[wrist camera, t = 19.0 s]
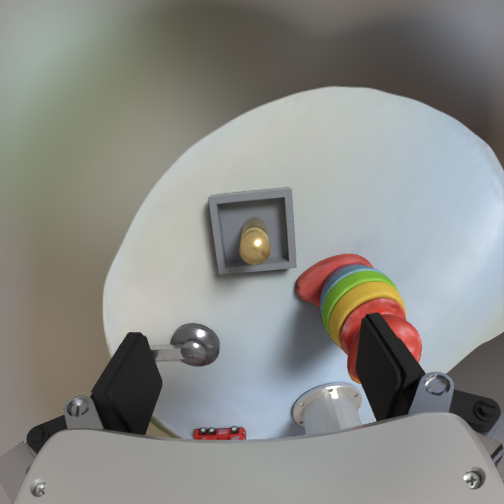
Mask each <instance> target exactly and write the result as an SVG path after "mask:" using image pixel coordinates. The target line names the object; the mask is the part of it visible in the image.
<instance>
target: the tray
mask: <svg viewBox="0 0 504 504" xmlns="http://www.w3.org/2000/svg"><path fill="white" fill-rule="evenodd" d="M208 199H209V207H210V215H211V222H212V229H213V237H214V244H215V251H216V257H217V264H218V271H219V275H223V274H234V273H246V272H257V271H267V270H278V269H288V268H297V267H296V247H295V230H294V215H293V201H292V189H290V188H289V187H286V188H274V189H263V190H252V191H242V192H233V193H224V194H216V195H211V196H210V197H208ZM250 218H259V219H261V220H262V221H263V222H264V223H265V225H266V228H267V233H268V238H269V243H270V247H271V253H270V256H269V258H268V259H267V260H266V261H265V262H264V263H262V264H259V265H251V264H248V263H246V262H245V261H244V260H243V259H242V257H241V255H240V242H241V235H242V228H243V225H244V223H245V222H246V221H247V220H248V219H250Z"/></svg>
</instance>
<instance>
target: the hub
mask: <svg viewBox="0 0 504 504" xmlns="http://www.w3.org/2000/svg"><path fill="white" fill-rule="evenodd" d="M188 339H197V340H199V341H201V342H203V343H204V344H205V346H206V348H207V353H206V357H205V359H204V360H203V361H201V362H198V363H193V362H189V361H187V360H186V359H180V360H181V361H183V362H185V363H187V364H189V365H193V366H205V365H208V364H211V363H212V362H214V361H215V360H216V358H217V357H218V354H219V349H220V342H219V339H218V337H217V335H216V334H215V333H214V332H213V331H212V330H211V329H209V328H208V327H206V326H204V325H201V324H195V323H190V324H185V325H182V326H180V327H179V328H178V329H177V330H176V331H175V333H174V335H173V337H172V340H171V345H177V344H183V343H184V341H186V340H188Z"/></svg>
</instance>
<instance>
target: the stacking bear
mask: <svg viewBox="0 0 504 504" xmlns="http://www.w3.org/2000/svg"><path fill="white" fill-rule="evenodd" d="M296 283H297V286H296V292H297V293H298V294H299V295H300V298H301V299H302V300H304V301H306V302H309V303H312V304H315V305H317V306H318V307H319V308H320V313H321V319H322V322H323V325H324V328H325V330H326V331H327V333H328V335H329V336H330V337H331V339H332V340H333V341H334V342H335V343H336V344H337V345H338V346H339V347H340V348H341V349H342V350H343V351H344V352H345V353H346V354H347V355H348V359H347V368H348V373H349V375H350V377H351V379H352V380H353V381H355V382H357V383H359V384H361V382H360V380H359V377H358V375H357V373H356V368H355V365H356V358H357V351H358V344H359V336H360V327H361V320H362V318H365V315H366V314H370V313H376V312H379V313H380V314H381V315H382V317H383V318H384V319H385V321H386V322H387V323H388V325H389V326H390V328H391V329H392V330H393V332H394V333H395V334H396V336H397V337H398V338H400V339H401V340H402V341H403V342H404V344H405V345H406V346H407V348H408V349H409V351H410V352H411V353H412V355H413V356H414V358H415V359H416V360H417V362H418V363H419V360H420V357H421V352H422V343H421V338H420V335H419V333H418V332H417V330H416V329H415V328H414V327H413V326H412V325H411V324H410V323H409V322H407V321H406V309H405V306H404V303H403V300H402V298H401V296H400V294H399V292H398V290H397V288H396V287H395V285H394V284H393V282H392V281H391V280H390V279H389V278H388V277H387V276H386V275H385V274H383V273H382V272H380V271H378V270H376V269H374V268H373V267H372V265H371V264H370V262H369V261H367V260H366V259H365V258H363V257H361V256H359V255H355V254H342V255H337V256H333V257H330V258H327V259H325V260H322V261H320V262H318V263H317V264H315V265H313V266H312V267H310V268H309V269H308V270H306V271H305V272H304V273H303V274H302V275H301V276H300V277H299V278H298V280H297V282H296Z"/></svg>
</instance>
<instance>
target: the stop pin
mask: <svg viewBox="0 0 504 504" xmlns="http://www.w3.org/2000/svg"><path fill="white" fill-rule="evenodd" d="M270 253H271V247H270V243H269V238H268V233H267V228H266V225H265V223H264V222H263V221H262V220H261V219H259V218H250V219H248V220H247V221H246V222H245V223H244V225H243V228H242V235H241V242H240V255H241V257H242V259H243V260H244V261H245V262H246V263H248V264H251V265H259V264H262V263H264V262H265V261H266V260H267V259H268V258H269V256H270Z"/></svg>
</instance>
